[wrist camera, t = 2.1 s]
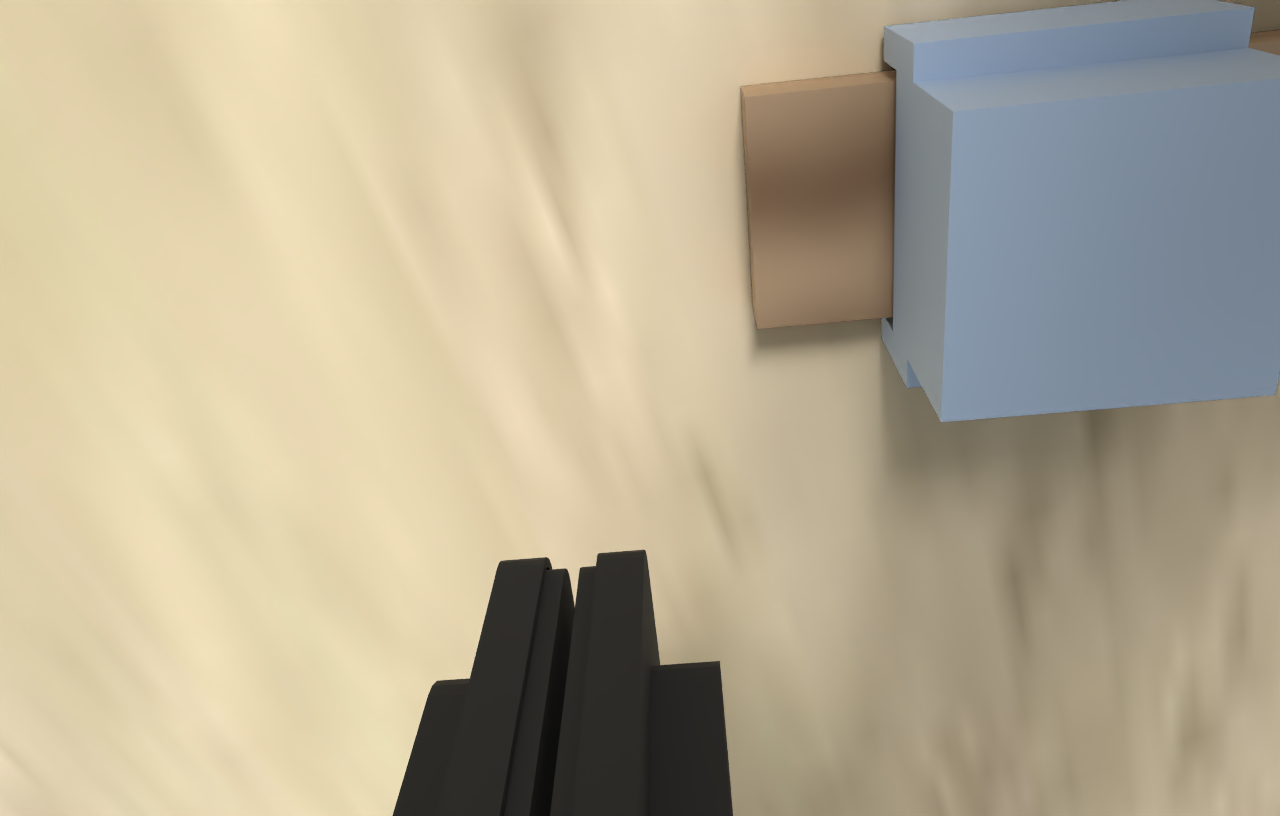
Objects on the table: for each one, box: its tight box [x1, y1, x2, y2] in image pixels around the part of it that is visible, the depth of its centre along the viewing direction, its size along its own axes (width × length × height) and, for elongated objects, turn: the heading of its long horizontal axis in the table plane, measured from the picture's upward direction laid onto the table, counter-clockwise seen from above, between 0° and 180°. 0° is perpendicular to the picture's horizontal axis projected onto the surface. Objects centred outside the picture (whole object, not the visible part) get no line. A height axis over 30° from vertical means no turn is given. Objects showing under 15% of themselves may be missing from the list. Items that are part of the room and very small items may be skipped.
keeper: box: [881, 0, 1280, 422], centre depth 23 cm, size 8×7×6 cm
